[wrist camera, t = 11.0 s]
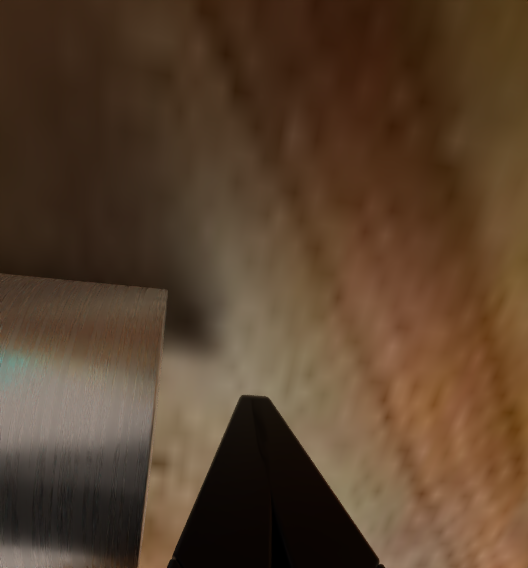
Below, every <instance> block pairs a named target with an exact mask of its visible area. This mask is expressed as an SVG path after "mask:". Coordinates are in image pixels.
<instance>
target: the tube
mask: <svg viewBox="0 0 528 568" xmlns="http://www.w3.org/2000/svg"><path fill="white" fill-rule="evenodd" d="M167 297H168V290H167V289H157V288H146V287H136V286H125V285H115V284H105V283H94V282H84V281H73V280H63V279H53V278H42V277H32V276H21V275H11V274H1V273H0V568H139V562H140V554H141V547H142V539H143V530H144V522H145V514H146V505H147V496H148V488H149V479H150V470H151V461H152V451H153V442H154V433H155V423H156V414H157V404H158V395H159V385H160V375H161V365H162V354H163V344H164V333H165V322H166V310H167Z"/></svg>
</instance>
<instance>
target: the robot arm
mask: <svg viewBox="0 0 528 568" xmlns="http://www.w3.org/2000/svg"><path fill="white" fill-rule="evenodd" d="M167 568H385V567H384V565H383V564H379V558H378V557H377V555H376V554H375V552H374V551H373V549H372V548H371V547H370V545H369V544H368V542H367V541H366V539H365V538H364V536H363V535H362V533H361V532H360V530H359V529H358V527H357V526H356V525H355V523H354V522H353V520H352V519H351V517H350V516H349V514H348V513H347V511H346V510H345V508H344V507H343V506H342V504H341V503H340V501H339V500H338V498H337V497H336V495H335V494H334V492H333V491H332V489H331V488H330V486H329V485H328V484H327V482H326V481H325V479H324V478H323V476H322V475H321V473H320V472H319V470H318V469H317V467H316V466H315V464H314V463H313V462H312V460H311V459H310V457H309V456H308V454H307V453H306V451H305V450H304V448H303V447H302V445H301V444H300V443H299V441H298V440H297V438H296V437H295V435H294V434H293V432H292V431H291V429H290V428H289V426H288V425H287V423H286V422H285V421H284V419H283V418H282V416H281V415H280V413H279V412H278V410H277V409H276V407H275V406H274V404H273V403H272V401H271V400H270V399H269V398H268V397H265V396H254V395H242V396H241V397H240V398H239V400H238V403H237V405H236V407H235V410H234V412H233V414H232V417H231V419H230V422H229V424H228V426H227V429H226V431H225V433H224V436H223V438H222V440H221V443H220V445H219V447H218V450H217V452H216V454H215V457H214V459H213V461H212V464H211V466H210V468H209V471H208V473H207V475H206V478H205V480H204V483H203V485H202V487H201V490H200V492H199V494H198V497H197V499H196V501H195V504H194V506H193V508H192V511H191V513H190V515H189V518H188V520H187V522H186V525H185V527H184V529H183V532H182V534H181V536H180V539H179V541H178V544H177V546H176V548H175V551H174V553H173V556H172V559H171V560H170V562H169V564H168V566H167Z"/></svg>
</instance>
